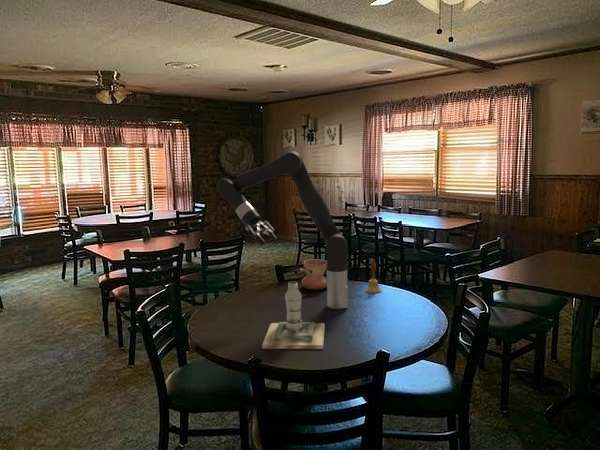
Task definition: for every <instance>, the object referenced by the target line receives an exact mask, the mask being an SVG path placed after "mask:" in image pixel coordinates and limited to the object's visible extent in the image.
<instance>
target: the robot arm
mask: <svg viewBox="0 0 600 450" xmlns="http://www.w3.org/2000/svg"><path fill="white" fill-rule="evenodd" d="M287 174H289V176H290V177H291V178H292V180H293V182H294V185H295V187H296V190H297V192H298V195H299V198H300V201H301V203H302V206H303V207H304V209H305V211H306V212H307V215H308V216H309V217H310V219H311V220H312V222H313V223H314V225H315V226H316V227H317V228H318V230H319V232H320V234H321V236H322V239H323V241H324V244H325V247H326V261H327V269H326V278H327V287H326V296H327V297H326V299H327V301H326V303H327V307H328V308H329V309H334V310H342V309H348V308H349V307H348V305H349V304H348V300H349V299H348V295H349V294H348V262H349V261H348V260H349V259H348V258H349V257H348V256H349V255H348V253H349V252H348V250H349V247H348V241H347V240H346V238H345V236H343V234H342V233H341V232H340V230H339V228H338V227H337V226H336V224H335V222H334V220H333V218H332V215H331V212H330V210H329V207H328V205H327V203H326V202H325V199H324V198H323V195H322V194H321V192H320V190H319V189H318V187H317V186H316V184H315V183H314V181H313V179H312V178H311V176H310V174H309V172H308V170H307V167H306V165H305V163H304V160H303V158H302V156H301V154H300V153H299V152H298V151H295V150H289V151H287V152H285V153H283V155H282V156H280V157H278V158H277V159H275V160H273V161H271V162H269V163H267V164H263V165H261V166H257V167H255V168H252V169H249V170H247V171H244V172H241V173H239V174H237V176H236V178H235V179H233V180H230V179H228V178H225V177H224V178H221V179H219V180H218V181H217V184H216V189H217V191H218V193H219V194H220V195H221V196H222V197H223V199H225V201H227V203H228V204H229V205H230V207H231V208H232V209H233V210H234V212H235V213H236V215H237V216H238V218H239V219H240V221H241V222H242V223H243V224H244V225H245V228H244V230H245V232H246V234H247V235H248V236H249V238H250V239H252V240H253V239H255V240H256V241H257V242H258V243H259V245H261V246H264V245H265V244H266V240H264V239H263V237H262V236H261V235H260V234H263V235H267V236H268V237H269V238H270V240H271V241H272V242H273V243H275V242H276V241H278V238H277V236H276V235H275V234H274V231H275V228H274V227H273V226H272V225H271V224H270V222H269V221H267V220H265V221H264V222H263V221H262V220H261V217H262V216H261V215H260V214H259V213H258V212H257V210H256V208H254V207H253V205H252V204H251V203H250V202H249V201H248V200H247V199H246V197H245V196H244V195H243V194H241V192H243V191H244V190H245V189H249V188H251V187H254V186H256V185H258V184H261V183H263V182H265V181H267V180H270V179H272V178H274V177H277V176H282V175H287Z"/></svg>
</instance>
